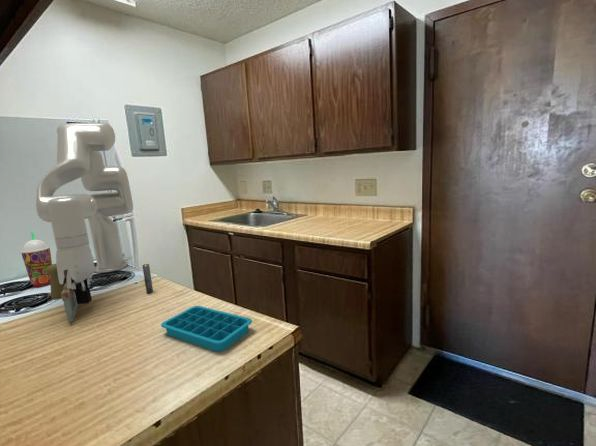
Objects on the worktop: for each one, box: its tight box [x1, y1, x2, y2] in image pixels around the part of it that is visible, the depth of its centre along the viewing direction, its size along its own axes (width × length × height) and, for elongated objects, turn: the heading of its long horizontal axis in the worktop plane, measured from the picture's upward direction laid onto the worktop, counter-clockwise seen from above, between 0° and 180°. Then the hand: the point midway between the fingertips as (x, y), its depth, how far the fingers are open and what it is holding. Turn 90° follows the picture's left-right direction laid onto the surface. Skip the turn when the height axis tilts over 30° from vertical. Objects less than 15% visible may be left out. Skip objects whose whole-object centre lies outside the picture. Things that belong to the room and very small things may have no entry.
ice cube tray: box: [160, 305, 253, 353], centre depth 76 cm, size 12×20×3 cm, turn 60°
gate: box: [61, 284, 79, 323], centre depth 92 cm, size 19×2×8 cm, turn 30°
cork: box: [47, 263, 65, 300], centre depth 105 cm, size 6×6×11 cm
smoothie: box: [20, 231, 53, 288], centre depth 117 cm, size 8×8×20 cm
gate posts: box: [142, 263, 154, 295], centre depth 102 cm, size 2×24×10 cm, turn 96°
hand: (84, 302), depth 92 cm, fingers closed
